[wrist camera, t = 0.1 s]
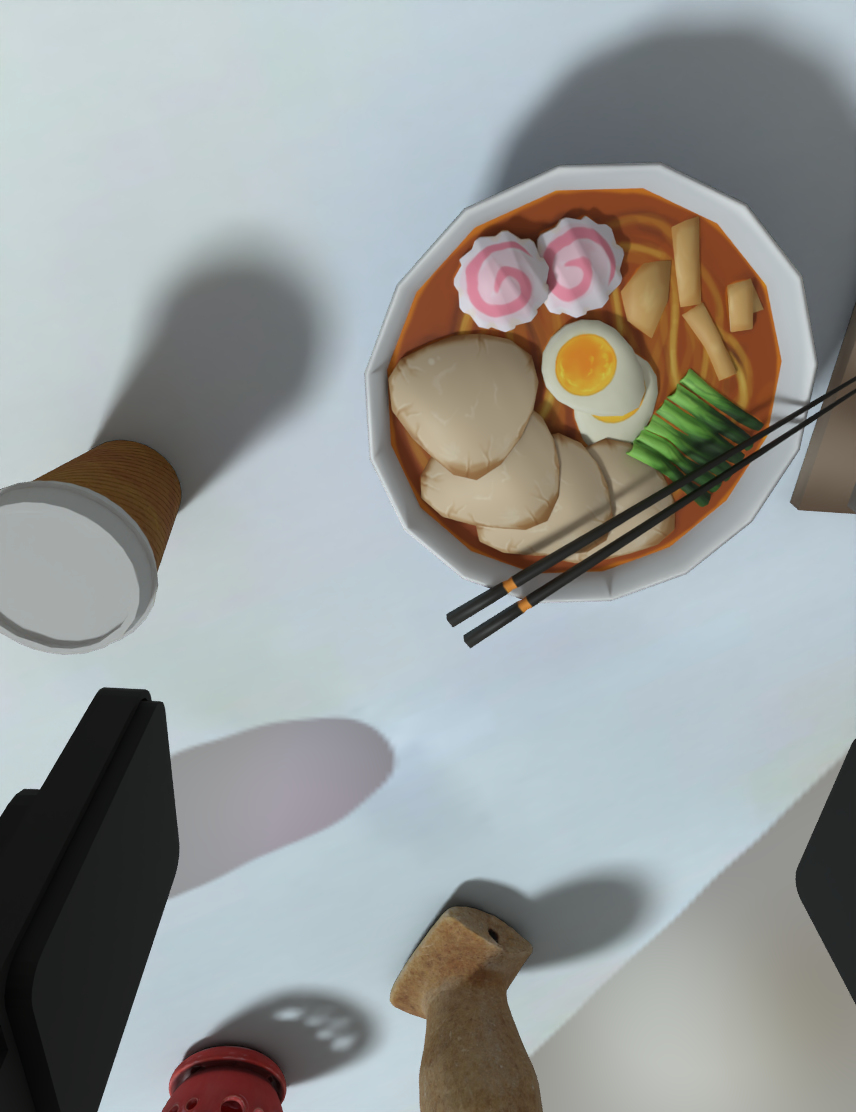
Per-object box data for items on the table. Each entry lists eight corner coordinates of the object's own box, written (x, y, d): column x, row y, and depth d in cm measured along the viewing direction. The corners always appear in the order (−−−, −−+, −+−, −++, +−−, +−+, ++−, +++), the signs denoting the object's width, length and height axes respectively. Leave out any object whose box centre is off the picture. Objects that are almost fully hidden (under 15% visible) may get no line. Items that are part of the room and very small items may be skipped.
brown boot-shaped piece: (486, 1018, 74) (502, 1205, 61) (375, 987, 72) (366, 1176, 58) (564, 925, 68) (602, 1111, 55) (446, 888, 65) (455, 1074, 52)
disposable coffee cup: (212, 558, 50) (158, 666, 39) (64, 550, 49) (-30, 658, 39) (202, 418, 46) (138, 498, 35) (40, 409, 45) (-74, 486, 34)
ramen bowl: (667, 40, 37) (729, 11, 30) (834, 412, 46) (912, 459, 39) (274, 337, 43) (247, 373, 36) (488, 613, 52) (501, 686, 45)
